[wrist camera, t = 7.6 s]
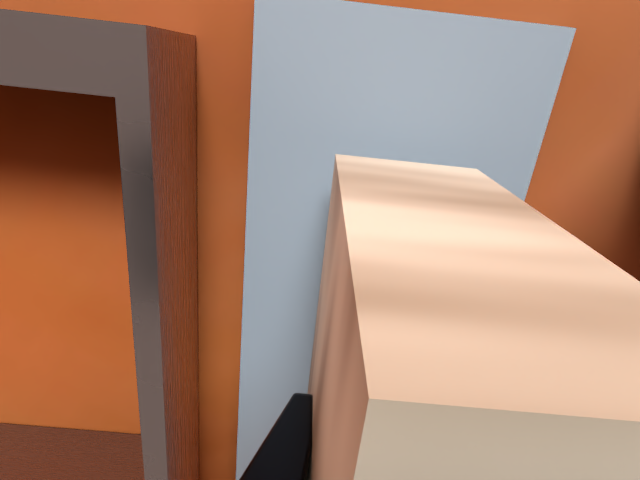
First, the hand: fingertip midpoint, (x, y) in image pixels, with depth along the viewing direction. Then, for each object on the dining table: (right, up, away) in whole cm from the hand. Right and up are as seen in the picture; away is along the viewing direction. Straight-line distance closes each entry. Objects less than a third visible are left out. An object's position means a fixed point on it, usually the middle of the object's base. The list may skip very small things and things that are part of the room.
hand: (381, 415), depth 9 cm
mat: (0, +2, +4) cm, 4 cm away
